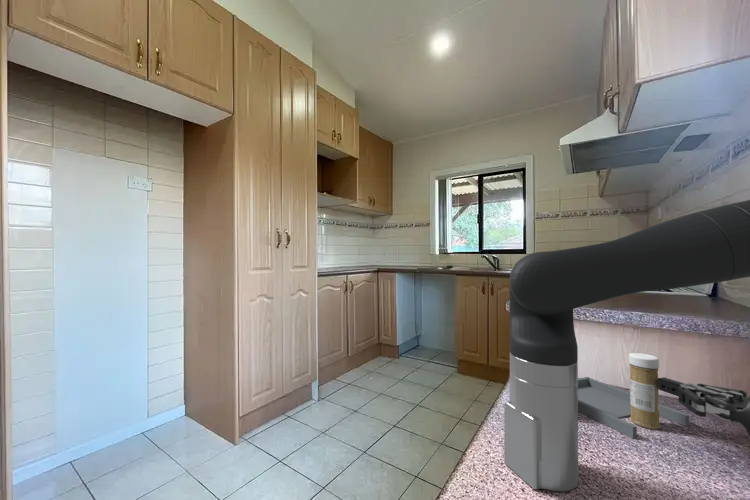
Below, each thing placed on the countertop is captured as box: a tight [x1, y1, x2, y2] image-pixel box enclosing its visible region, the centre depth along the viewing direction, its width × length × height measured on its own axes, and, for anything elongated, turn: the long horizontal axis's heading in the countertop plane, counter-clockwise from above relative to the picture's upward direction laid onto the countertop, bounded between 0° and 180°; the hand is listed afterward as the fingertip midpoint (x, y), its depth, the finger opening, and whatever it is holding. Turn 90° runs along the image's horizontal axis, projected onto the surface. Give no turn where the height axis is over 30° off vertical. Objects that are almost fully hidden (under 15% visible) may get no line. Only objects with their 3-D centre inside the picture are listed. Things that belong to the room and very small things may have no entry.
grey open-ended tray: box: [578, 376, 690, 439], centre depth 69 cm, size 16×21×2 cm
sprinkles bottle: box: [628, 352, 661, 430], centre depth 62 cm, size 5×5×13 cm
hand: (659, 382), depth 60 cm, fingers closed
